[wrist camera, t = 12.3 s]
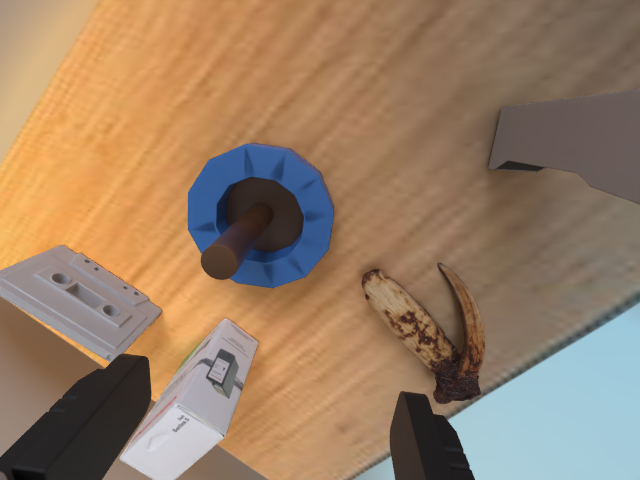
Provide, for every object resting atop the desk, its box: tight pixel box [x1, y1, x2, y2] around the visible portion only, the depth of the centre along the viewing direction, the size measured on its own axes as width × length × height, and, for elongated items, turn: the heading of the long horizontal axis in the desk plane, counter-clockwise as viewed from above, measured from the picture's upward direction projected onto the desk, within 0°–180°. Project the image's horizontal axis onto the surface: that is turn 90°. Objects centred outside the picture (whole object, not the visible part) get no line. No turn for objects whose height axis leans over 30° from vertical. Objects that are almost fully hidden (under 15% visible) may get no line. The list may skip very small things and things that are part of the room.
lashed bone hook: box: [362, 263, 485, 404], centre depth 31 cm, size 9×5×18 cm
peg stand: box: [201, 157, 304, 280], centre depth 24 cm, size 9×9×12 cm
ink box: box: [120, 318, 258, 480], centre depth 30 cm, size 9×5×12 cm, turn 137°
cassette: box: [0, 245, 162, 362], centre depth 30 cm, size 12×2×8 cm, turn 51°
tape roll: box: [188, 143, 334, 288], centre depth 28 cm, size 12×12×3 cm
